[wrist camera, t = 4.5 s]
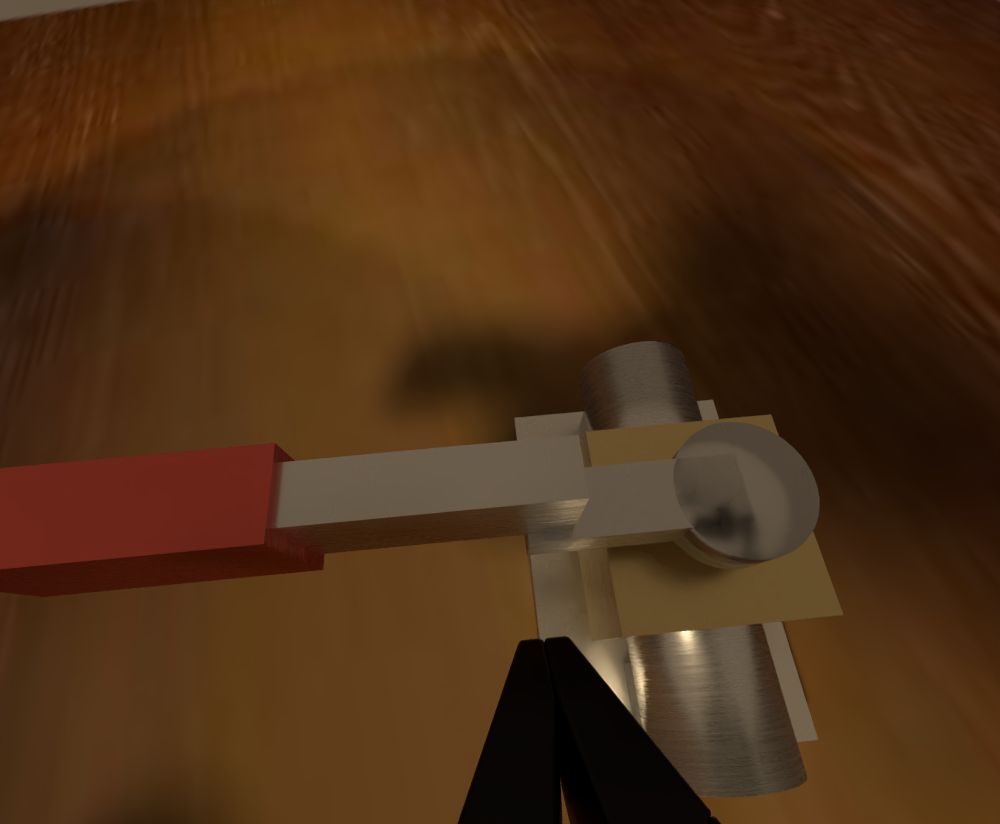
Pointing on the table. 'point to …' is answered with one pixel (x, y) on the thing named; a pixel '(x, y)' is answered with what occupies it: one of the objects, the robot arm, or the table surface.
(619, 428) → the stand
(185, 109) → the table surface
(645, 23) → the table surface
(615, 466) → the valve lever
